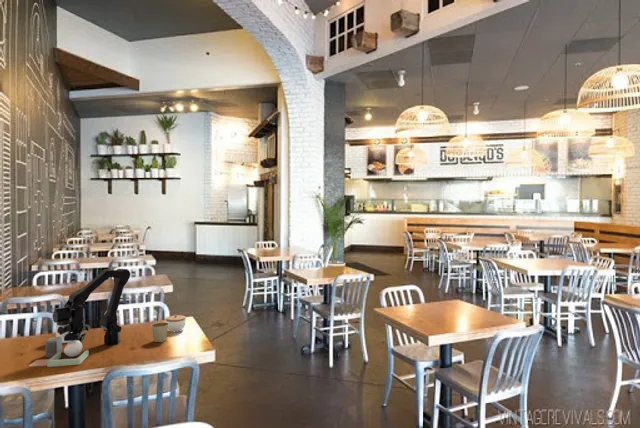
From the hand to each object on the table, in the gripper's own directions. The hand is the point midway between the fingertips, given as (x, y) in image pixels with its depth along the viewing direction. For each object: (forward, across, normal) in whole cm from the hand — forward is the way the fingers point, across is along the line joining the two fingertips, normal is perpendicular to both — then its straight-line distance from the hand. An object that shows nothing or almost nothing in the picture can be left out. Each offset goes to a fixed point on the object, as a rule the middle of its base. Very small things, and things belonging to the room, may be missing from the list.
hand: (77, 349), depth 220 cm
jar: (+2, -21, -13) cm, 25 cm away
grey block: (+1, +3, -10) cm, 10 cm away
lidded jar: (+2, -29, +43) cm, 52 cm away
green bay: (+1, +13, 0) cm, 13 cm away
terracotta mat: (+1, +14, -11) cm, 17 cm away
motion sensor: (+1, +6, 0) cm, 7 cm away
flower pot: (+1, -11, +37) cm, 39 cm away
